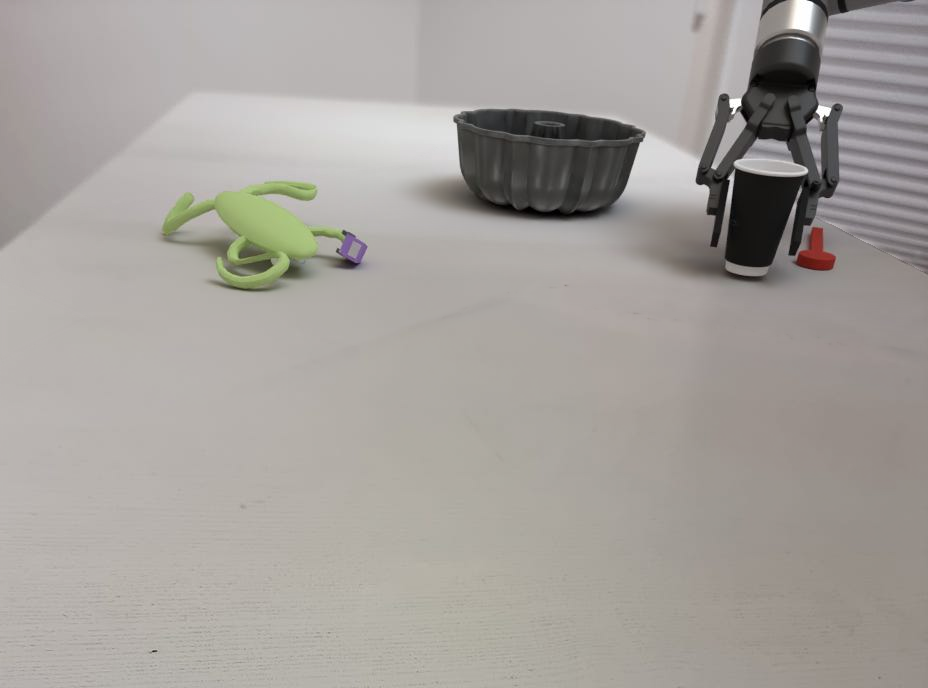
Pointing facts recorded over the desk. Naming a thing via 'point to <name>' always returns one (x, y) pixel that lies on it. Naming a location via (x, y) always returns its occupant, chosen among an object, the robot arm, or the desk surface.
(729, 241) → the dixie cup
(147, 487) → the desk surface
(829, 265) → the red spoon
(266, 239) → the figurine
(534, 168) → the bundt pan
